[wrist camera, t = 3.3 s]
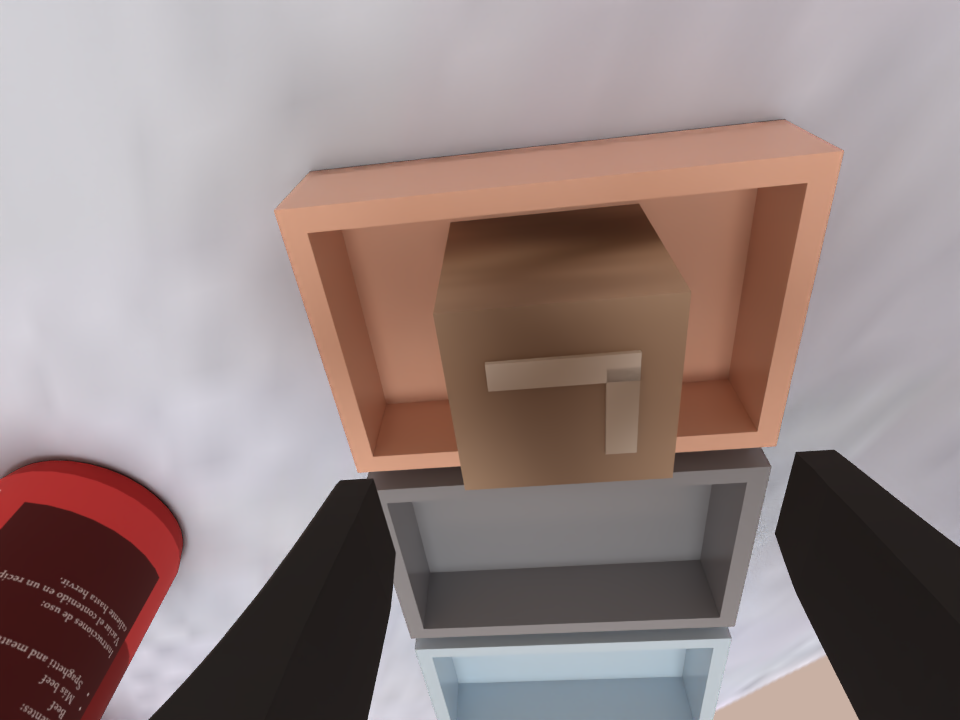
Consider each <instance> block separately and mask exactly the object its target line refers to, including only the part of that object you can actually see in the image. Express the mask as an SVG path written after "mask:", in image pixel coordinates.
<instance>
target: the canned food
mask: <svg viewBox="0 0 960 720" xmlns="http://www.w3.org/2000/svg"><path fill="white" fill-rule="evenodd" d="M182 547H183V539H182V532H181V530H180V527H179V525H178V522H177V520H176V519H175V518H174V516H173V515H172V513H171V512H170V510H169V509H168V508H167V507H166V506H165V505H164V504H163V503H162V502H161V501H160V500H159V499H158V498H157V497H156V496H155V495H154V494H153V493H151V492H150V491H149V490H147V489H146V488H145V487H143V486H142V485H140V484H138V483H136V482H135V481H133V480H131V479H129V478H128V477H126V476H123V475H121V474H119V473H116V472H114V471H111V470H109V469H106V468H102V467H99V466H95V465H92V464H87V463H80V462H73V461H44V462H38V463H32V464H30V465H27V466H24V467H22V468H19V469H17V470H16V471H14V472H12V473H10V474H9V475H7V476H5V477H3V478H1V479H0V720H100V719H101V717H102V715H103V713H104V711H105V709H106V708H107V706H108V704H109V702H110V700H111V698H112V696H113V694H114V692H115V690H116V689H117V687H118V685H119V683H120V681H121V679H122V677H123V675H124V673H125V671H126V670H127V668H128V666H129V664H130V662H131V660H132V658H133V656H134V654H135V652H136V651H137V649H138V647H139V645H140V643H141V641H142V639H143V637H144V635H145V633H146V632H147V630H148V628H149V626H150V624H151V622H152V620H153V618H154V616H155V614H156V613H157V611H158V609H159V607H160V605H161V603H162V601H163V599H164V597H165V595H166V594H167V592H168V590H169V588H170V586H171V584H172V582H173V580H174V578H175V576H176V575H177V573H178V569H179V564H180V559H181V553H182Z"/></svg>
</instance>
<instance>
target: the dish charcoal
mask: <svg viewBox="0 0 960 720" xmlns="http://www.w3.org/2000/svg"><path fill="white" fill-rule="evenodd" d="M770 470H771V465H770V463H769V461H768V459H767V458H766V456H765V454H764V452H763V450H762V449H761V447H757V448H741V449H725V450H709V451H693V452H677V453H675V459H674V469H673V478H664V479H648V480H631V481H614V482H597V483H580V484H564V485H547V486H530V487H513V488H496V489H480V490H465V487H464V482H463V476H462V471H461V466H456V467H440V468H424V469H408V470H393V471H377V472H369V473H368V477H367V479H371V478H374V482H375V485H376V488H377V492H378V495H379V498H380V502H381V505H382V508H383V512H384V515H385V518H386V521H387V525H388V528H389V531H390V535H391V538H392V541H393V545H394V548H395V551H396V558H395V569H394V581H393V583H394V587H395V590H396V593H397V596H398V599H399V602H400V605H401V608H402V612H403V615H404V618H405V621H406V624H407V627H408V630H409V633H410V636H411V639H412V638H439V637H466V636H492V635H519V634H545V633H572V632H599V631H625V630H652V629H678V628H705V627H732V626H735V623H736V618H737V614H738V610H739V605H740V601H741V596H742V592H743V588H744V583H745V579H746V575H747V570H748V566H749V562H750V557H751V553H752V549H753V544H754V540H755V536H756V531H757V527H758V523H759V518H760V514H761V510H762V505H763V501H764V497H765V492H766V488H767V483H768V479H769V475H770Z"/></svg>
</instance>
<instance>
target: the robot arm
mask: <svg viewBox="0 0 960 720" xmlns="http://www.w3.org/2000/svg"><path fill="white" fill-rule="evenodd" d="M775 535H776V538H777V541H778V544H779V547H780V550H781V553H782V556H783V559H784V562H785V565H786V567H787V570H788V573H789V575H790V578H791V581H792V584H793V586H794V589H795V592H796V594H797V596H798V598H799V600H800V602H801V604H802V606H803V608H804V610H805V612H806V614H807V616H808V618H809V620H810V622H811V625H812V627H813V629H814V631H815V633H816V635H817V637H818V639H819V641H820V643H821V645H822V647H823V649H824V651H825V653H826V655H827V657H828V659H829V660H830V663H831V665H832V667H833V669H834V671H835V673H836V675H837V677H838V678H839V680H840V683H841V684H842V686H843V689H844V690H845V693H846V694H847V696H848V698H849V700H850V702H851V704H852V706H853V708H854V710H855V712H856V714H857V716H858V718H859V720H960V547H959V546H957V545H956V544H955V543H953V542H952V541H951V540H949V539H948V538H947V537H945V536H944V535H943V534H941V533H940V532H939V531H937V530H936V529H935V528H934V527H932V526H931V525H930V524H928V523H927V522H926V521H925V520H923V519H922V518H921V517H919V516H918V515H917V514H916V513H914V512H913V511H912V510H910V509H909V508H908V507H907V506H905V505H904V504H903V503H902V502H900V501H899V500H898V499H896V498H895V497H894V496H893V495H891V494H890V493H889V492H888V491H886V490H885V489H884V488H883V487H881V486H880V485H879V484H878V483H876V482H875V481H874V480H873V479H871V478H870V477H869V476H867V475H866V474H865V473H864V472H862V471H861V470H860V469H859V468H857V467H856V466H855V465H854V464H852V463H851V462H850V461H848V460H847V459H846V458H845V457H843V456H842V455H841V454H839V453H838V452H837V451H835V450H822V451H806V452H796V454H795V458H794V461H793V465H792V469H791V473H790V477H789V481H788V485H787V489H786V492H785V496H784V500H783V504H782V508H781V512H780V516H779V520H778V523H777V527H776V531H775ZM395 558H396V551H395V548H394V545H393V541H392V538H391V535H390V531H389V528H388V525H387V521H386V518H385V515H384V512H383V508H382V505H381V502H380V498H379V495H378V492H377V488H376V485H375V482H374V478H371V479H355V480H340V481H339V482H338V483H337V484H336V486H335V487H334V489H333V490H332V491H331V493H330V494H329V496H328V497H327V499H326V500H325V502H324V503H323V505H322V506H321V507H320V509H319V510H318V512H317V513H316V515H315V516H314V518H313V519H312V521H311V522H310V523H309V525H308V526H307V528H306V529H305V531H304V532H303V533H302V535H301V536H300V538H299V539H298V541H297V542H296V543H295V545H294V546H293V548H292V549H291V550H290V552H289V553H288V554H287V556H286V557H285V559H284V560H283V561H282V563H281V564H280V565H279V567H278V568H277V569H276V571H275V572H274V573H273V575H272V576H271V577H270V579H269V580H268V581H267V583H266V584H265V586H264V587H263V588H262V589H261V591H260V592H259V593H258V595H257V596H256V597H255V598H254V600H253V601H252V602H251V603H250V605H249V606H248V607H247V608H246V610H245V611H244V612H243V613H242V615H241V616H240V617H239V618H238V620H237V621H236V622H235V623H234V624H233V626H232V627H231V628H230V629H229V631H228V632H227V633H226V634H225V636H224V637H223V638H222V639H221V640H220V642H219V643H218V644H217V645H216V646H215V648H214V649H213V650H212V651H211V652H210V653H209V654H208V656H207V657H206V658H205V659H204V660H203V661H202V663H201V664H200V665H199V666H198V667H197V668H196V669H195V670H194V672H193V673H192V674H191V675H190V676H189V677H188V678H187V679H186V680H185V681H184V683H183V684H182V685H181V686H180V687H179V688H178V689H177V690H176V691H175V692H174V693H173V695H172V696H171V697H170V698H169V699H168V700H167V701H166V702H165V703H164V704H163V705H162V706H161V707H160V708H159V709H158V710H157V711H156V712H155V713H154V714H153V716H152V717H151V718H150V719H149V720H367V719H368V715H369V710H370V705H371V700H372V696H373V691H374V686H375V682H376V677H377V672H378V668H379V663H380V658H381V653H382V649H383V644H384V639H385V634H386V629H387V624H388V619H389V614H390V609H391V600H392V591H393V581H394V569H395Z"/></svg>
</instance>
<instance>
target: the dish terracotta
mask: <svg viewBox="0 0 960 720" xmlns="http://www.w3.org/2000/svg"><path fill="white" fill-rule="evenodd" d="M843 153H844V151H843V150H842V149H840V148H838V147H836V146H834V145H832V144H830V143H828V142H826V141H824V140H823V139H821V138H819V137H817V136H815V135H813V134H811V133H809V132H807V131H806V130H804V129H802V128H800V127H798V126H796V125H794V124H792V123H790V122H789V121H787V120H785V119H784V120H775V121H765V122H756V123H747V124H738V125H729V126H720V127H711V128H702V129H693V130H684V131H674V132H665V133H656V134H647V135H638V136H629V137H620V138H611V139H602V140H592V141H583V142H574V143H565V144H556V145H547V146H538V147H529V148H520V149H511V150H501V151H492V152H483V153H474V154H465V155H456V156H447V157H438V158H429V159H420V160H410V161H401V162H392V163H383V164H374V165H365V166H356V167H347V168H338V169H328V170H319V171H310V172H309V173H308V174H307V175H306V176H305V177H304V179H303V180H302V181H301V182H300V183H299V184H298V185H297V186H296V187H295V188H294V189H293V190H292V191H291V192H290V194H289V195H288V196H287V197H286V198H285V199H284V200H283V201H282V202H281V203H280V204H279V205H278V206H277V208H276V209H275V210H274V213H275V216H276V219H277V222H278V225H279V228H280V231H281V234H282V238H283V241H284V244H285V247H286V250H287V253H288V256H289V259H290V262H291V266H292V269H293V272H294V275H295V278H296V281H297V284H298V287H299V290H300V294H301V297H302V300H303V303H304V306H305V309H306V312H307V315H308V319H309V322H310V325H311V328H312V331H313V334H314V337H315V340H316V343H317V347H318V350H319V353H320V356H321V359H322V362H323V365H324V368H325V372H326V375H327V378H328V381H329V384H330V387H331V390H332V393H333V396H334V400H335V403H336V406H337V409H338V412H339V415H340V418H341V421H342V425H343V428H344V431H345V434H346V437H347V440H348V443H349V446H350V449H351V453H352V456H353V459H354V462H355V465H356V468H357V471H358V473H361V472H377V471H393V470H408V469H424V468H440V467H456V466H461V465H460V460H459V454H458V449H457V443H456V438H455V432H454V427H453V421H452V416H451V410H450V405H449V399H448V394H447V388H446V383H445V377H444V372H443V366H442V361H441V355H440V350H439V344H438V339H437V333H436V328H435V322H434V317H433V311H434V306H435V301H436V296H437V290H438V285H439V280H440V275H441V269H442V264H443V259H444V254H445V249H446V243H447V238H448V233H449V228H450V222H459V221H469V220H479V219H489V218H499V217H509V216H519V215H529V214H539V213H549V212H559V211H569V210H579V209H589V208H599V207H609V206H619V205H629V204H640V206H641V208H642V209H643V211H644V213H645V215H646V216H647V218H648V220H649V221H650V223H651V225H652V226H653V228H654V230H655V231H656V233H657V235H658V236H659V238H660V240H661V241H662V243H663V245H664V246H665V248H666V250H667V251H668V253H669V255H670V257H671V258H672V260H673V262H674V263H675V265H676V267H677V268H678V270H679V272H680V273H681V275H682V277H683V278H684V280H685V282H686V283H687V285H688V287H689V288H690V290H691V300H690V310H689V320H688V330H687V340H686V350H685V360H684V370H683V380H682V390H681V400H680V410H679V420H678V429H677V439H676V449H675V453H677V452H693V451H709V450H725V449H741V448H757V447H772V446H776V444H777V440H778V436H779V431H780V427H781V423H782V418H783V414H784V410H785V405H786V401H787V397H788V392H789V388H790V384H791V379H792V375H793V370H794V366H795V362H796V357H797V353H798V349H799V344H800V340H801V336H802V331H803V327H804V323H805V318H806V314H807V310H808V305H809V301H810V297H811V292H812V288H813V284H814V279H815V275H816V271H817V266H818V262H819V257H820V253H821V249H822V244H823V240H824V236H825V231H826V227H827V223H828V218H829V214H830V210H831V205H832V201H833V197H834V192H835V188H836V184H837V179H838V175H839V171H840V166H841V162H842V158H843Z"/></svg>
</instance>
